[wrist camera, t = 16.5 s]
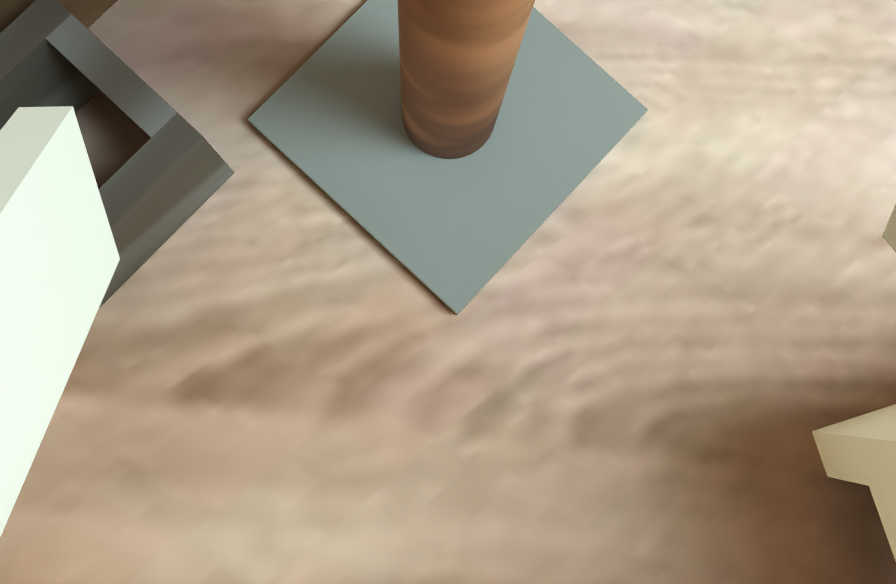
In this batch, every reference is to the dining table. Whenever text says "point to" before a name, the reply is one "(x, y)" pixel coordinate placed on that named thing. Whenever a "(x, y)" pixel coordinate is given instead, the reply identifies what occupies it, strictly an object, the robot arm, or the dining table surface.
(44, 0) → the toolbox
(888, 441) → the paper towel holder
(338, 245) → the dining table surface
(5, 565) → the dining table surface
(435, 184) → the rubber mat
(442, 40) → the wooden pepper mill
